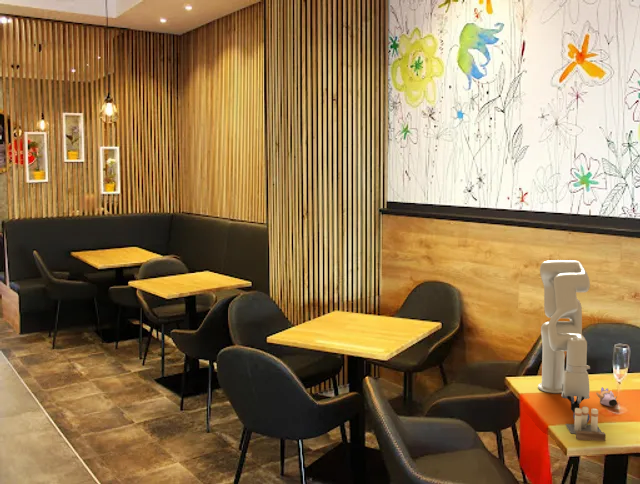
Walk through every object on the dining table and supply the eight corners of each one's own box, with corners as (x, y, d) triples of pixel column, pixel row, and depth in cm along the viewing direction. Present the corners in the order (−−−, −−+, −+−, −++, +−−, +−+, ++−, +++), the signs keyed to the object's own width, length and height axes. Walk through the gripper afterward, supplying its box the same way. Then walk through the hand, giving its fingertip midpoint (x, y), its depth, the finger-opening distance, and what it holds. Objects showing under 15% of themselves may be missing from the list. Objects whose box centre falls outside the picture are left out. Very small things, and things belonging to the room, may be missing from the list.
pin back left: (589, 430, 250) (590, 408, 249) (596, 431, 250) (597, 408, 249) (591, 433, 248) (592, 410, 247) (598, 433, 247) (599, 410, 246)
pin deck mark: (565, 424, 257) (565, 424, 257) (597, 425, 255) (597, 425, 255) (570, 433, 248) (570, 433, 248) (603, 434, 246) (603, 434, 246)
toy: (615, 386, 285) (626, 399, 270) (612, 399, 286) (624, 413, 271) (593, 383, 286) (603, 396, 271) (590, 396, 287) (601, 410, 272)
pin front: (578, 424, 255) (581, 406, 251) (585, 424, 254) (588, 406, 250) (580, 428, 252) (582, 410, 249) (587, 429, 252) (589, 410, 248)
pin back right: (573, 430, 251) (574, 407, 250) (580, 430, 251) (580, 408, 250) (575, 432, 249) (575, 410, 248) (581, 433, 248) (582, 410, 247)
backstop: (575, 437, 244) (576, 431, 244) (603, 438, 243) (604, 432, 243) (577, 439, 242) (577, 433, 242) (605, 440, 241) (605, 434, 241)
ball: (576, 418, 253) (574, 427, 256) (592, 418, 252) (589, 428, 256) (573, 405, 257) (570, 415, 261) (588, 406, 257) (586, 415, 260)
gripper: (592, 366, 266) (591, 409, 268) (555, 365, 268) (553, 408, 270) (598, 371, 259) (596, 416, 261) (559, 370, 261) (558, 414, 263)
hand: (574, 411), depth 266 cm, fingers closed
